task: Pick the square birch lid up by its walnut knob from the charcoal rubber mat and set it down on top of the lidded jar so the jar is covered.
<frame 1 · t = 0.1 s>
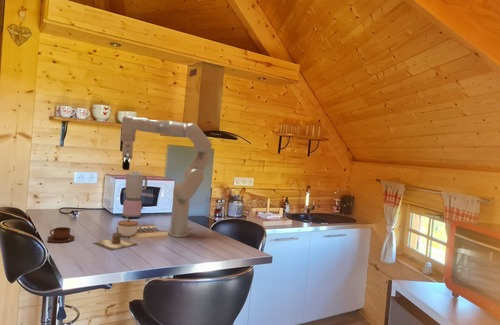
hand: (125, 169, 192), 37 cm above the kitchen island, tool pointing down, fingers open, 9 cm apart
lidded jar: (127, 236, 193), on the kitchen island
birch lid: (116, 244, 175), resting on rubber mat
rubber mat: (115, 244, 175), on the kitchen island
cup and saucer: (61, 241, 173), on the kitchen island
blender: (133, 217, 242), on the kitchen island
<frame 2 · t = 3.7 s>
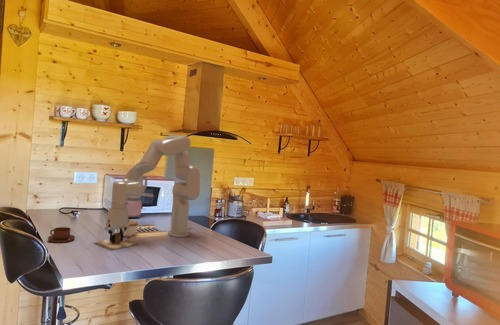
hand: (116, 241, 175), 2 cm above the kitchen island, tool pointing down, fingers closed on birch lid, 4 cm apart
birch lid: (116, 244, 175), resting on rubber mat, touching gripper
everything else where it was.
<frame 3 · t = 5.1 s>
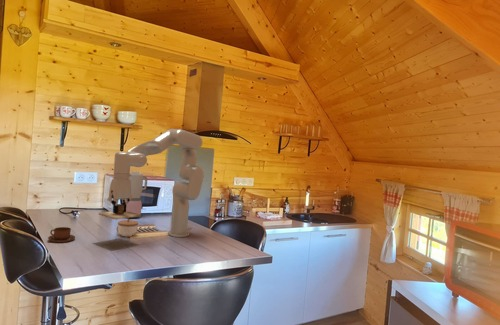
hand: (119, 212, 174), 17 cm above the kitchen island, tool pointing down, fingers closed on birch lid, 4 cm apart
birch lid: (119, 215, 175), point 15 cm above the kitchen island, touching gripper
everything else where it was.
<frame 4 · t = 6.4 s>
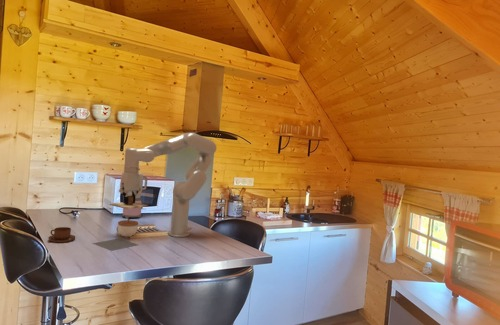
hand: (129, 203, 190), 19 cm above the kitchen island, tool pointing down, fingers closed on birch lid, 4 cm apart
birch lid: (129, 205, 190), point 17 cm above the kitchen island, touching gripper
everything else where it was.
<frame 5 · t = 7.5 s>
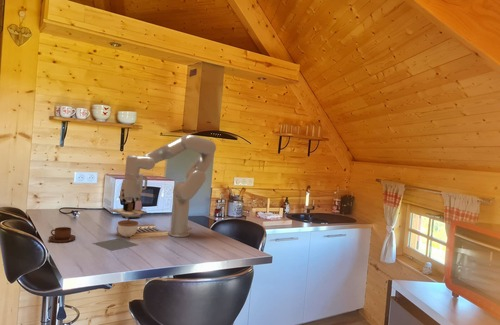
hand: (128, 209, 193), 15 cm above the kitchen island, tool pointing down, fingers closed on birch lid, 4 cm apart
birch lid: (128, 212, 193), point 13 cm above the kitchen island, touching gripper
everything else where it was.
when the fingers open (12 cm above the kitchen island, at t = 8.3 s): birch lid stays where it is, resting on lidded jar.
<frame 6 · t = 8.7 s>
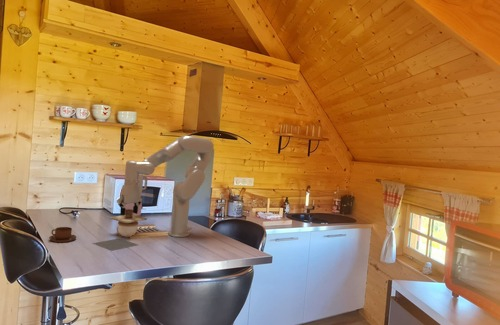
hand: (128, 213, 193), 12 cm above the kitchen island, tool pointing down, fingers open, 7 cm apart
lidded jar: (127, 236, 193), on the kitchen island, touching birch lid
birch lid: (128, 219, 193), point 9 cm above the kitchen island, touching lidded jar
everything else where it was.
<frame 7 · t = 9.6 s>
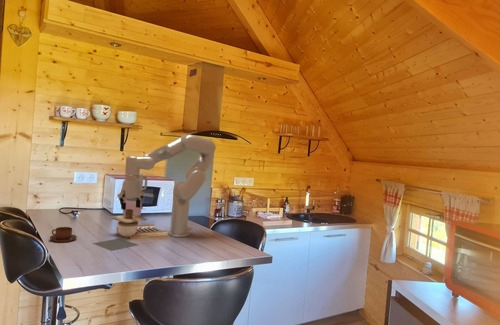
hand: (130, 208, 193), 16 cm above the kitchen island, tool pointing down, fingers open, 9 cm apart
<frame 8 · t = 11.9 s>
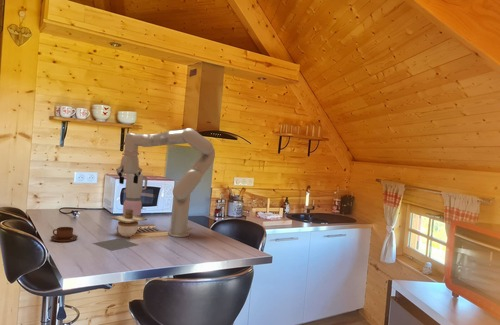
hand: (128, 183, 201), 28 cm above the kitchen island, tool pointing down, fingers open, 9 cm apart
at the end: birch lid 0.1 cm from the lidded jar (horizontally); birch lid point 9.4 cm above the kitchen island; birch lid touching lidded jar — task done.
